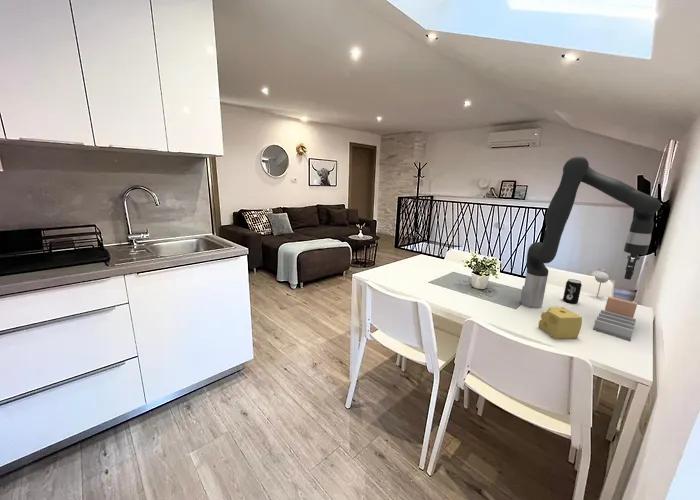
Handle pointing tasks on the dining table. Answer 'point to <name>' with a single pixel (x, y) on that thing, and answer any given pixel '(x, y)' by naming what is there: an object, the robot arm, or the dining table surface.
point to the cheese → (560, 323)
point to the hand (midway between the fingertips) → (628, 277)
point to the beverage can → (572, 291)
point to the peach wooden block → (621, 307)
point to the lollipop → (601, 279)
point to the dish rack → (615, 325)
